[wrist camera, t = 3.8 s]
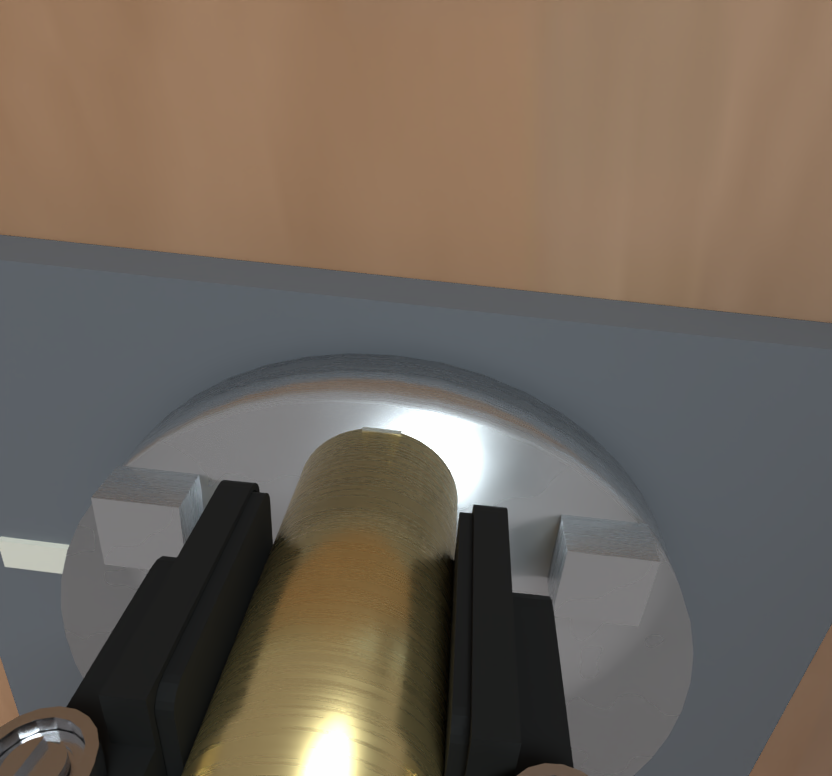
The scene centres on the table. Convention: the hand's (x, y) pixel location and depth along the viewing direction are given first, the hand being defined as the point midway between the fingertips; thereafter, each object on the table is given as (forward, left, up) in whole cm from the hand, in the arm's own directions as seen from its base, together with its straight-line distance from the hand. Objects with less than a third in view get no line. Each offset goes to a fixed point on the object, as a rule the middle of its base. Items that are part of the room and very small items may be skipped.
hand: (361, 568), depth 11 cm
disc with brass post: (0, +5, -4) cm, 6 cm away
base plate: (0, +5, -6) cm, 8 cm away
